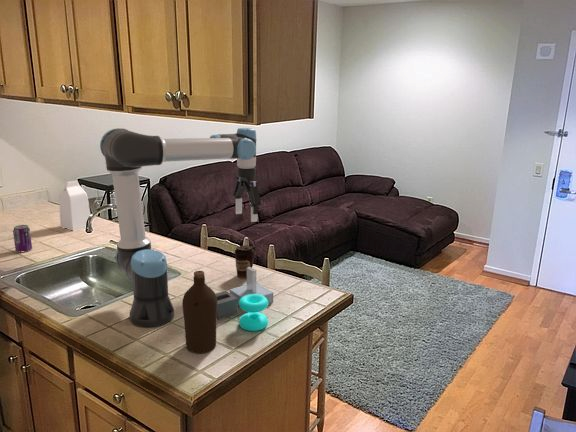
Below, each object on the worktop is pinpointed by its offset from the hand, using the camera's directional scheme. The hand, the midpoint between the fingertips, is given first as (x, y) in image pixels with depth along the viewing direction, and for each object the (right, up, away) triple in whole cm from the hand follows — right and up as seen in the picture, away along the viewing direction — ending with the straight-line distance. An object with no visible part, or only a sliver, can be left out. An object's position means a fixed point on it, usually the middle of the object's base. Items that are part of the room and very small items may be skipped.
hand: (246, 217), depth 201 cm
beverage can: (-110, -16, +33) cm, 116 cm away
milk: (-101, -6, +71) cm, 124 cm away
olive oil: (-10, -41, -47) cm, 63 cm away
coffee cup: (-2, -25, +8) cm, 27 cm away
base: (+3, -32, -15) cm, 35 cm away
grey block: (-7, -34, -25) cm, 43 cm away
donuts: (+5, -37, -34) cm, 51 cm away
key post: (+3, -28, -16) cm, 33 cm away
